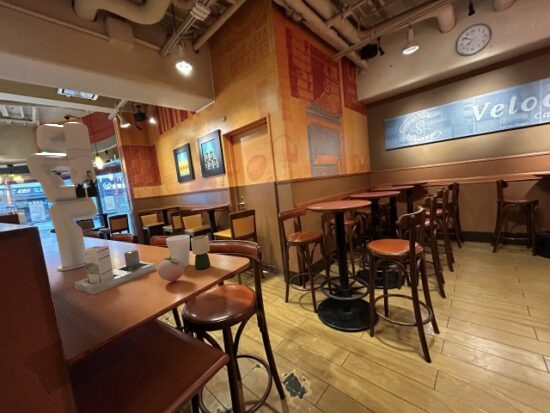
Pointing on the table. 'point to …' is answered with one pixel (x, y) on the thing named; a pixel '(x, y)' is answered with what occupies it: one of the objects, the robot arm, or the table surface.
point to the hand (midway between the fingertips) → (87, 197)
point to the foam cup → (179, 248)
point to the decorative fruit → (171, 269)
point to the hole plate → (119, 274)
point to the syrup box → (98, 264)
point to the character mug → (201, 251)
